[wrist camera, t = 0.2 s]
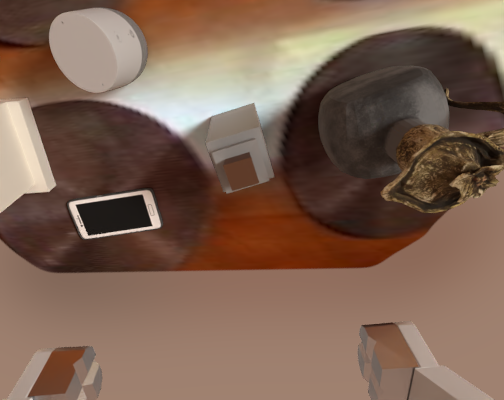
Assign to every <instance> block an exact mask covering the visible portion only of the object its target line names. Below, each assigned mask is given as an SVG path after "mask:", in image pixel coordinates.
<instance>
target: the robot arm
mask: <svg viewBox="0 0 504 400" xmlns="http://www.w3.org/2000/svg"><path fill="white" fill-rule="evenodd" d="M359 335H360V338H361V340H362V342H361V343H360V344H359V345H358V361H359V366H360V370H361V373H362V376H363V378H364V379H365V380H366V381H368V382H369V388H368V393H369V396H370V398H371V400H494V399H492V398H491V397H490V396H488V395H487V394H485V393H484V392H482V391H481V390H479V389H478V388H476V387H475V386H473V385H472V384H470V383H469V382H467V381H466V380H465V379H463V378H462V377H460V376H459V375H457V374H456V373H454V372H453V371H451V370H450V369H448V368H447V367H445V366H439V365H438V363H437V362H436V360H435V358H434V356H433V355H432V353H431V351H430V350H429V348H428V346H427V345H426V343H425V341H424V340H423V338H422V336H421V335H420V333H419V331H418V330H417V328H416V326H415V325H414V323H412V322H411V321H408V322H395V323H382V324H372V325H362V326H361V328H360V333H359ZM95 355H96V354H95V351H94V349H93V347H90V346H83V347H64V348H63V347H62V348H47V349H40V350H38V351H37V352H36V353H35V354H34V355H33V357H32V359H31V360H30V362H29V364H28V365H27V367H26V369H25V370H24V372H23V374H22V375H21V377H20V379H19V380H18V382H17V383H16V385H15V387H14V389H13V390H12V392H11V394H10V395H9V397H8V398H7V399H3V400H96V399H97V398H98V396H99V393H100V390H101V383H102V371H101V368H100V365H99V364H97V363H96V362H95V361H93V360H94V358H95Z"/></svg>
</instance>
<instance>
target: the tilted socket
mask: <svg viewBox="0 0 504 400" xmlns="http://www.w3.org/2000/svg"><path fill="white" fill-rule="evenodd" d="M55 186H56V184H55V181H54V178H53V175H52V172H51V168H50V165H49V162H48V159H47V156H46V153H45V150H44V147H43V144H42V141H41V138H40V135H39V132H38V129H37V125H36V122H35V119H34V116H33V113H32V110H31V107H30V104H29V101H28V98H17V99H2V100H0V213H1V212H2V211H3V210H5V209H6V208H7V207H8V206H9V205H11V204H12V203H13V202H14V201H16V200H17V199H18V198H19V197H20V196H22V195H23V194H24V193H38V192H49V191H50V190H51V189H53V188H54V187H55Z"/></svg>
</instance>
